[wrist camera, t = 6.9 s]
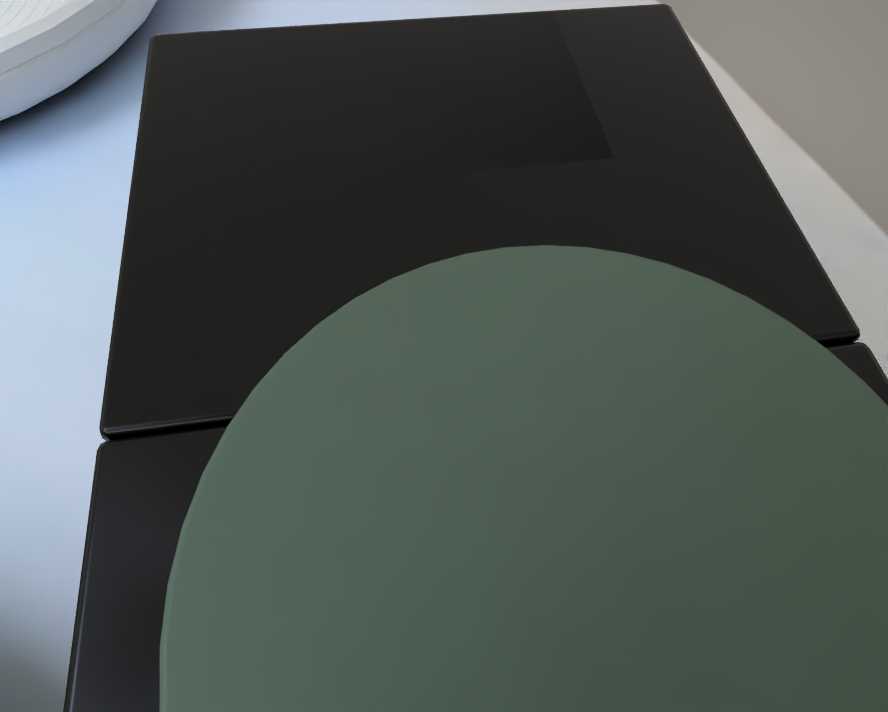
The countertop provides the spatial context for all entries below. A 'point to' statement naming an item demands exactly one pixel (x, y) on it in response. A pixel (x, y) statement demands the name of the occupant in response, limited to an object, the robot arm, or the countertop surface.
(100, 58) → the white round dish
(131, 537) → the black bracket
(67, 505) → the countertop surface
